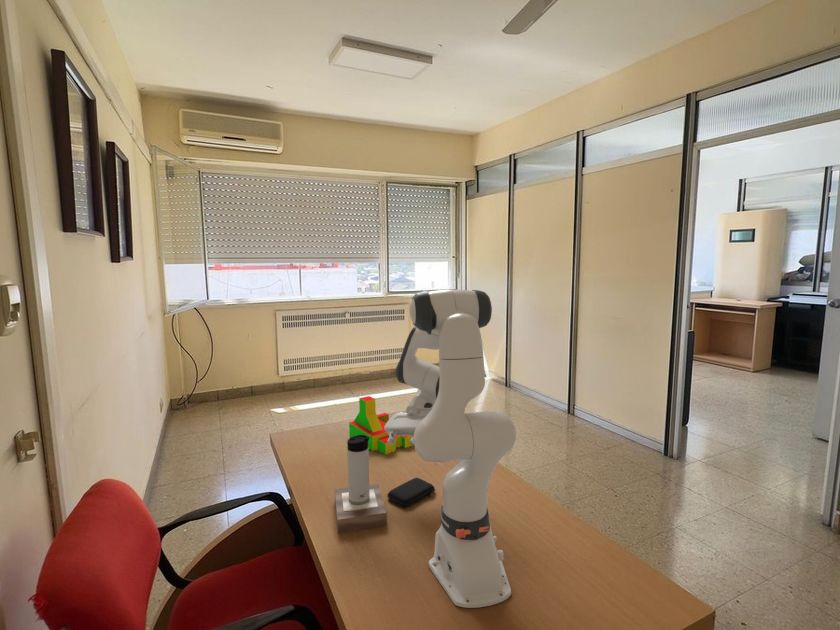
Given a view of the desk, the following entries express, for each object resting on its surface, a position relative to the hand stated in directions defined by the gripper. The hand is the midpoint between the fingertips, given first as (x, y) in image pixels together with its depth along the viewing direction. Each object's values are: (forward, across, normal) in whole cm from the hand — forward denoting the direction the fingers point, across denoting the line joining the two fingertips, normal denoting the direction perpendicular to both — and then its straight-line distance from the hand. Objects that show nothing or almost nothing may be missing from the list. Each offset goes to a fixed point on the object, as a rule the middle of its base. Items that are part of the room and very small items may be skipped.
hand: (400, 443), depth 140 cm
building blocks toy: (-22, -38, +24) cm, 50 cm away
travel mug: (+18, -8, +4) cm, 21 cm away
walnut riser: (+20, -9, +8) cm, 24 cm away
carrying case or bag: (+7, -2, +18) cm, 19 cm away
